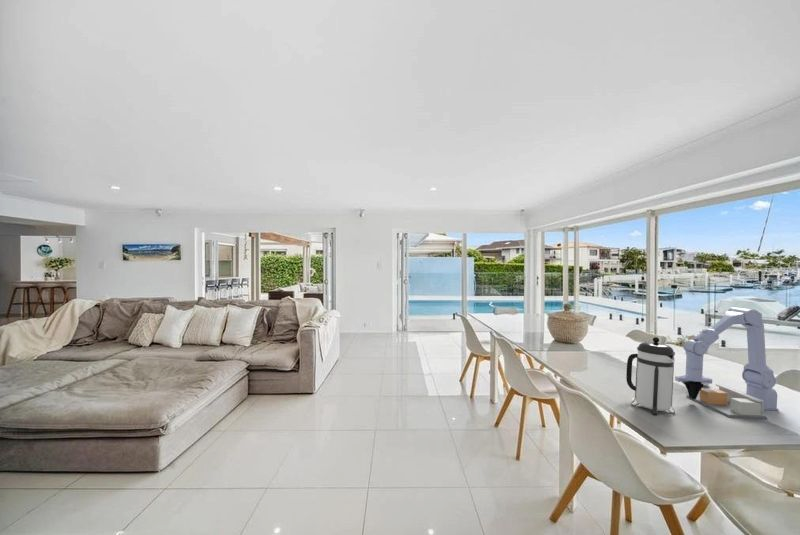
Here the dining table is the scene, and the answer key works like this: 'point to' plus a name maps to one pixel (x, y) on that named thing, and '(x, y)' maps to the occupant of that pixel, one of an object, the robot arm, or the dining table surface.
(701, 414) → the dining table surface
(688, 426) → the dining table surface
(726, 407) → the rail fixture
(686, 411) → the dining table surface
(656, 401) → the coffee press
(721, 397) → the block
